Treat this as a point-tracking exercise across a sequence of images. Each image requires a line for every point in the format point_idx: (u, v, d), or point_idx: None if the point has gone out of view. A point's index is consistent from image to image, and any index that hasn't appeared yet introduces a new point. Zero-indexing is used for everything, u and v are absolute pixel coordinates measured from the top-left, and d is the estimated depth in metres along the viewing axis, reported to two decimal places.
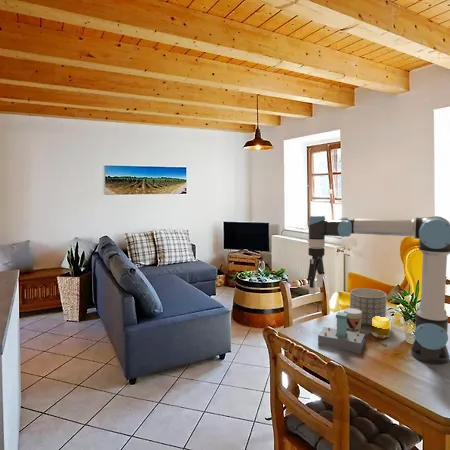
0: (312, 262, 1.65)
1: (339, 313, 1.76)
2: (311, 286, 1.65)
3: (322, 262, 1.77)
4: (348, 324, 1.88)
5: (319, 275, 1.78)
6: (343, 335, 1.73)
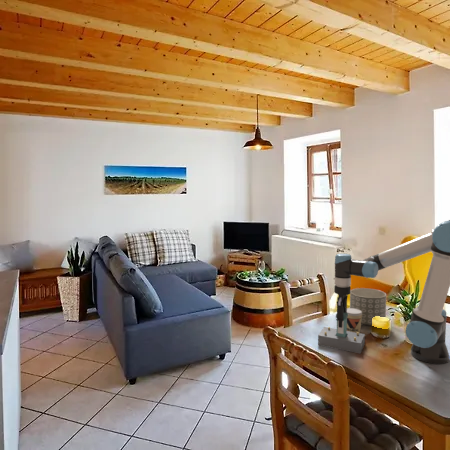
0: (339, 304, 1.69)
1: None
2: (340, 326, 1.72)
3: None
4: (348, 324, 1.88)
5: None
6: (343, 335, 1.73)
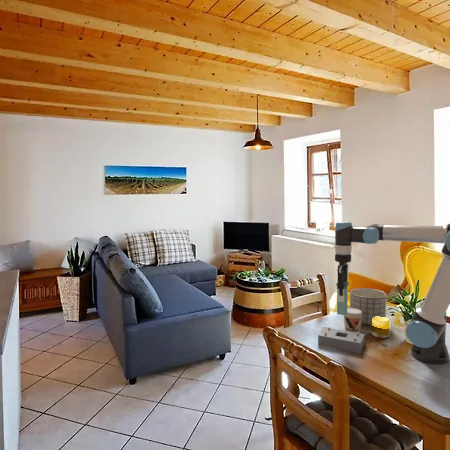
0: (340, 272, 1.67)
1: None
2: (341, 294, 1.70)
3: (347, 272, 1.77)
4: (348, 324, 1.88)
5: None
6: (344, 304, 1.72)
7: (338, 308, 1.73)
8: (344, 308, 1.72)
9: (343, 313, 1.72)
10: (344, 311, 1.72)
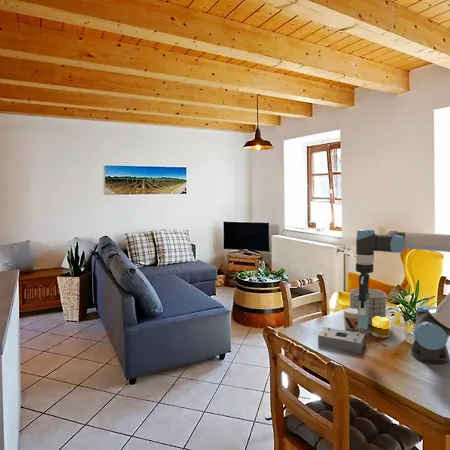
0: (362, 283, 1.56)
1: None
2: (362, 307, 1.59)
3: None
4: (348, 324, 1.88)
5: None
6: (365, 317, 1.61)
7: (359, 321, 1.62)
8: (365, 321, 1.61)
9: (364, 327, 1.61)
10: (365, 325, 1.61)
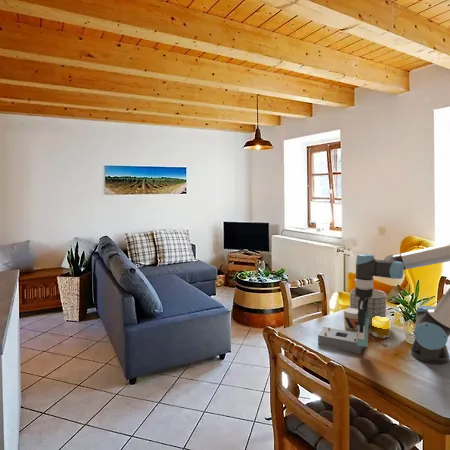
0: (361, 308, 1.57)
1: None
2: (361, 331, 1.60)
3: None
4: (348, 324, 1.88)
5: None
6: (365, 335, 1.61)
7: (358, 339, 1.63)
8: (365, 339, 1.62)
9: (364, 344, 1.62)
10: (365, 342, 1.62)
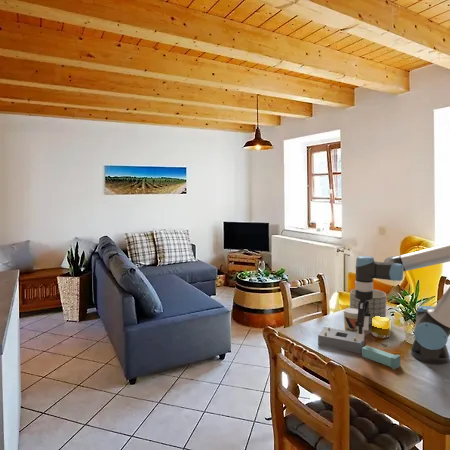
0: (361, 307, 1.56)
1: (397, 359, 1.52)
2: (360, 332, 1.56)
3: None
4: (348, 324, 1.88)
5: (365, 317, 1.69)
6: (373, 359, 1.59)
7: (367, 351, 1.61)
8: (368, 357, 1.61)
9: (363, 354, 1.63)
10: (365, 356, 1.62)
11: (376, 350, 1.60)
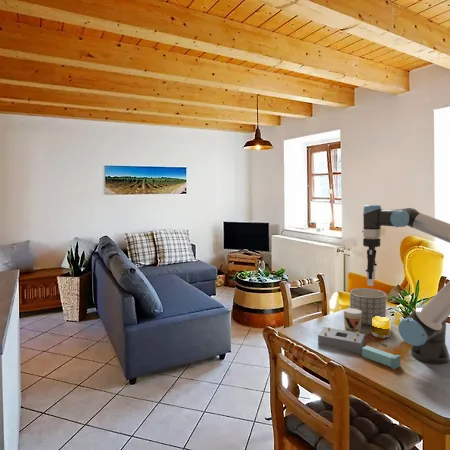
0: (370, 253, 1.61)
1: (397, 359, 1.52)
2: (370, 277, 1.60)
3: None
4: (348, 324, 1.88)
5: None
6: (373, 359, 1.59)
7: (367, 351, 1.61)
8: (368, 357, 1.61)
9: (363, 354, 1.63)
10: (365, 356, 1.62)
11: (376, 350, 1.60)
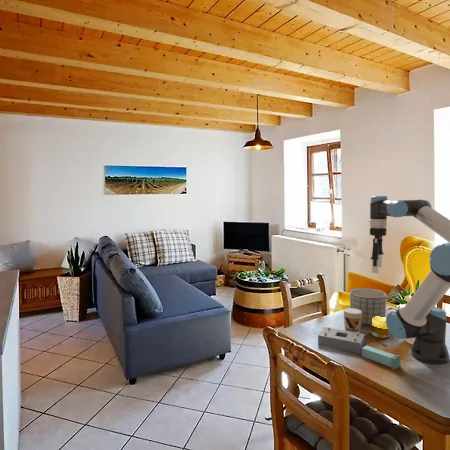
0: (376, 241, 1.69)
1: (397, 359, 1.52)
2: (375, 265, 1.69)
3: None
4: (348, 324, 1.88)
5: (378, 255, 1.81)
6: (373, 359, 1.59)
7: (367, 351, 1.61)
8: (368, 357, 1.61)
9: (363, 354, 1.63)
10: (365, 356, 1.62)
11: (376, 350, 1.60)
